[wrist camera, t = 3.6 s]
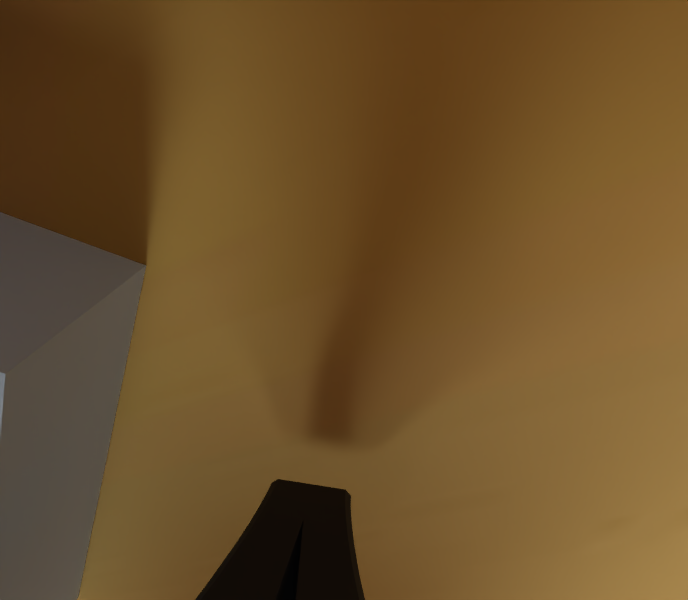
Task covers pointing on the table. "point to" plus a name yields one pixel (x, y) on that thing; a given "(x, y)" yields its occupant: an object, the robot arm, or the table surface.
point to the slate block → (56, 399)
